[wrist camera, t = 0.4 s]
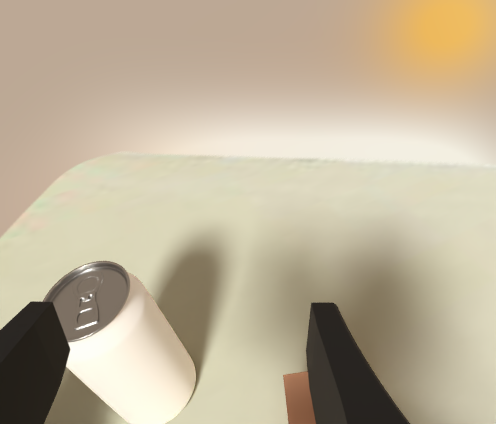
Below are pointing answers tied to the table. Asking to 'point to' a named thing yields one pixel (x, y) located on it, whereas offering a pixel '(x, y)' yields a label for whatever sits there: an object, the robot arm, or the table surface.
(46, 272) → the table surface
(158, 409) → the can
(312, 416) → the block
